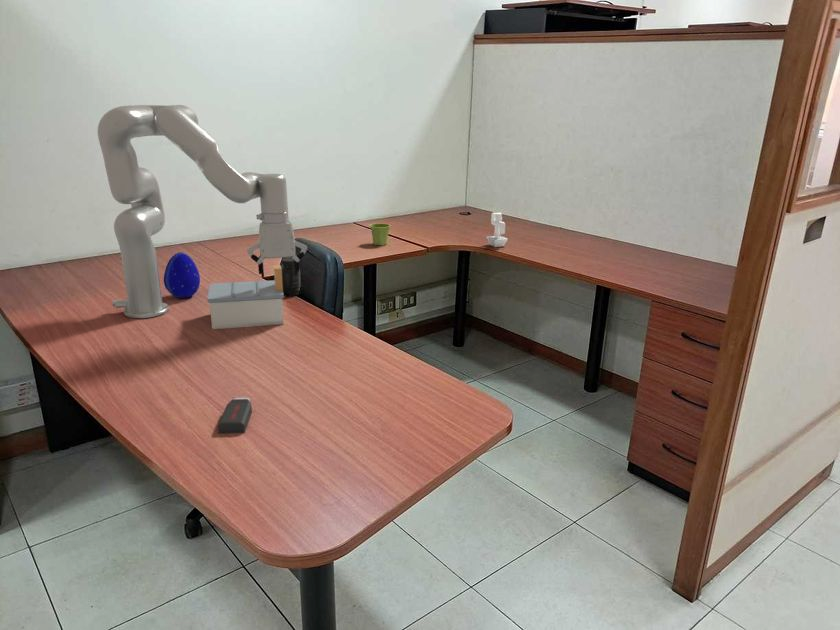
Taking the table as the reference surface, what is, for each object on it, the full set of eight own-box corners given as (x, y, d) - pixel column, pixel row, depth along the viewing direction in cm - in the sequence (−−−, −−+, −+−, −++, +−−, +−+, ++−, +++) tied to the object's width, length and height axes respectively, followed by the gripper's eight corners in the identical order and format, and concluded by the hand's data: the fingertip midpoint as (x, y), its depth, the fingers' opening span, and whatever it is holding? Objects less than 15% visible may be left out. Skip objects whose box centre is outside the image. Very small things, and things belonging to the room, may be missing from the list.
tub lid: (207, 302, 174) (205, 278, 171) (210, 286, 187) (208, 264, 185) (283, 298, 179) (282, 274, 177) (281, 283, 193) (279, 261, 190)
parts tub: (212, 329, 177) (209, 302, 175) (214, 312, 190) (212, 288, 187) (283, 324, 182) (281, 298, 179) (280, 308, 195) (279, 284, 192)
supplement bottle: (276, 294, 208) (274, 260, 204) (289, 289, 214) (287, 255, 210) (292, 298, 205) (290, 263, 201) (305, 292, 211) (303, 258, 207)
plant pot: (366, 242, 281) (366, 223, 278) (385, 241, 285) (385, 222, 282) (374, 247, 274) (374, 228, 271) (393, 245, 277) (393, 226, 274)
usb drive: (218, 434, 124) (217, 422, 124) (230, 406, 136) (229, 395, 135) (244, 434, 125) (243, 422, 124) (254, 405, 136) (253, 394, 135)
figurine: (495, 248, 277) (497, 215, 272) (484, 243, 285) (486, 211, 280) (509, 247, 280) (511, 214, 275) (497, 242, 288) (499, 210, 283)
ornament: (189, 290, 210) (184, 247, 205) (208, 295, 206) (203, 251, 201) (161, 298, 201) (156, 253, 196) (180, 303, 197) (175, 258, 192)
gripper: (244, 221, 173) (249, 280, 178) (306, 219, 177) (309, 276, 183) (244, 216, 179) (249, 273, 185) (304, 214, 184) (307, 269, 189)
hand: (279, 275), depth 184 cm, fingers open, 9 cm apart
